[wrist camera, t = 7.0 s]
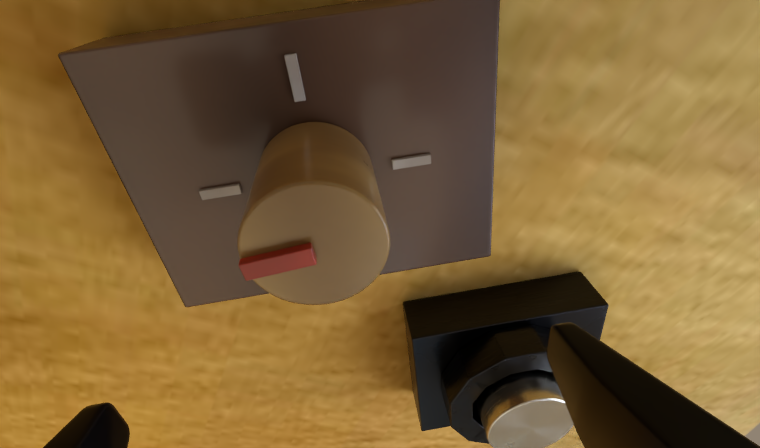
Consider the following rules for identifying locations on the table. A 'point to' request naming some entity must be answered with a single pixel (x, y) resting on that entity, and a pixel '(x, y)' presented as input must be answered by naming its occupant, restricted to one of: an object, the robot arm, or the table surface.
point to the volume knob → (314, 217)
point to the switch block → (488, 342)
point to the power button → (524, 411)
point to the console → (294, 106)
